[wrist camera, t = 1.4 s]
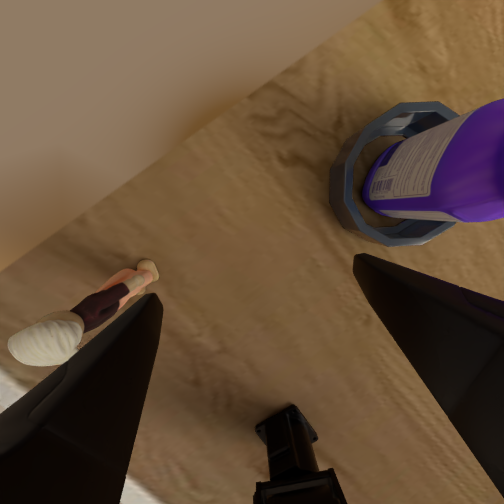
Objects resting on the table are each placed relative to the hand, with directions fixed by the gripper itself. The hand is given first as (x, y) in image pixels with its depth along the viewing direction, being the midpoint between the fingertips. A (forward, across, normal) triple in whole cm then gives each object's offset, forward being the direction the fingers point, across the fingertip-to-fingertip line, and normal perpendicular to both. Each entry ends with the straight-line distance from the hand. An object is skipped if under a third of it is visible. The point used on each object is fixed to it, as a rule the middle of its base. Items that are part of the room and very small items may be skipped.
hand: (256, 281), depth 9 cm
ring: (+14, -16, +2) cm, 21 cm away
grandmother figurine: (+13, +13, +7) cm, 20 cm away
